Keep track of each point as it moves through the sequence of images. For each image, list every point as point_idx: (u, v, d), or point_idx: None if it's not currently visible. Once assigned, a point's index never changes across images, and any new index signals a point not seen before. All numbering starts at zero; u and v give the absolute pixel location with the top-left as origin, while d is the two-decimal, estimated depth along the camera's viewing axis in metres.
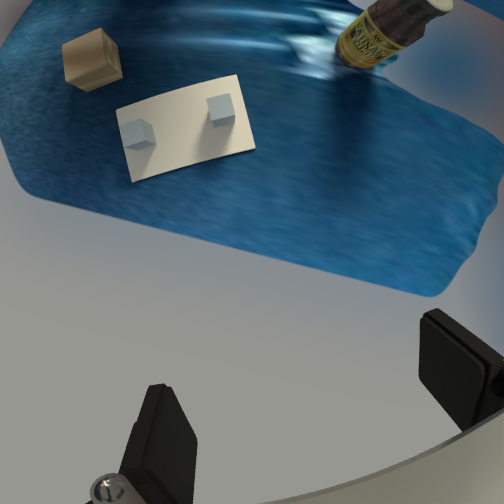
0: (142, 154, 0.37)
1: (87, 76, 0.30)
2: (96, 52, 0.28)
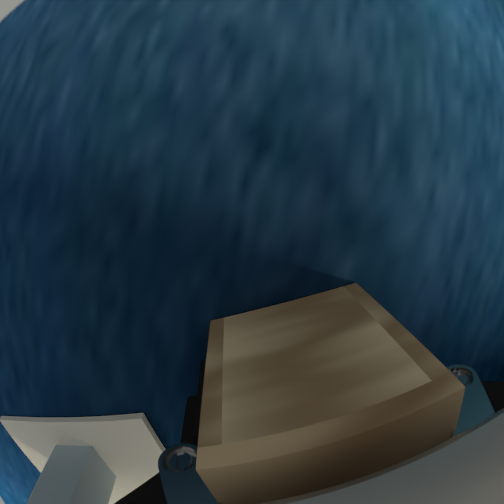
0: (52, 450, 0.12)
1: None
2: None
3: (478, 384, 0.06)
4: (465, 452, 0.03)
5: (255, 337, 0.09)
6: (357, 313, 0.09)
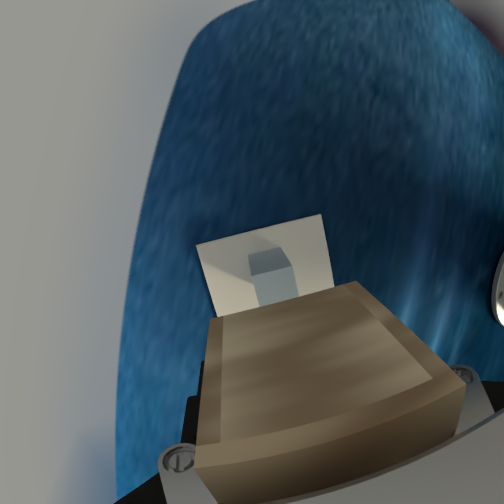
0: (240, 263, 0.25)
1: None
2: None
3: (478, 384, 0.06)
4: (465, 452, 0.03)
5: (255, 335, 0.09)
6: (357, 311, 0.09)
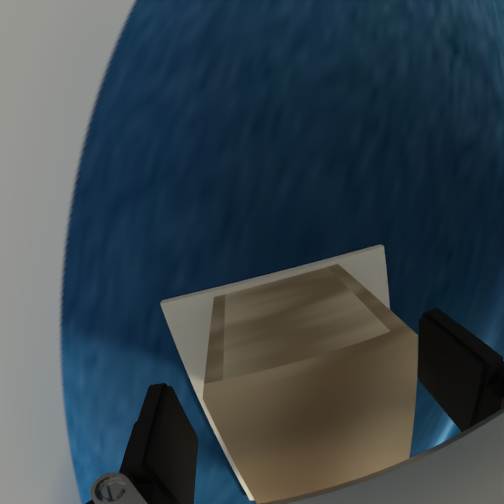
0: None
1: None
2: (310, 479, 0.08)
3: None
4: (465, 452, 0.03)
5: (251, 306, 0.11)
6: (335, 286, 0.11)
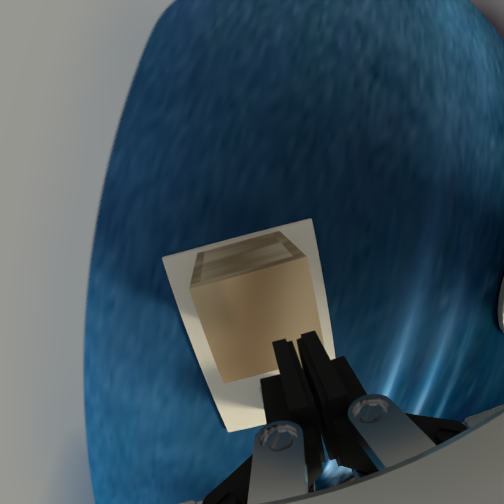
0: None
1: None
2: (256, 360, 0.15)
3: (397, 411, 0.06)
4: (465, 452, 0.03)
5: (220, 254, 0.18)
6: (272, 241, 0.18)
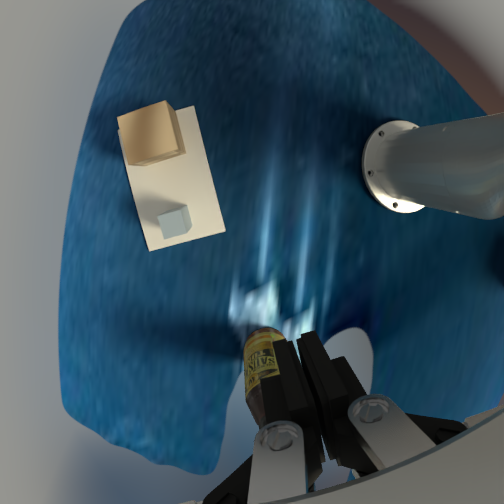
0: None
1: None
2: (143, 150, 0.30)
3: (397, 411, 0.06)
4: (465, 452, 0.03)
5: None
6: None
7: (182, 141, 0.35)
